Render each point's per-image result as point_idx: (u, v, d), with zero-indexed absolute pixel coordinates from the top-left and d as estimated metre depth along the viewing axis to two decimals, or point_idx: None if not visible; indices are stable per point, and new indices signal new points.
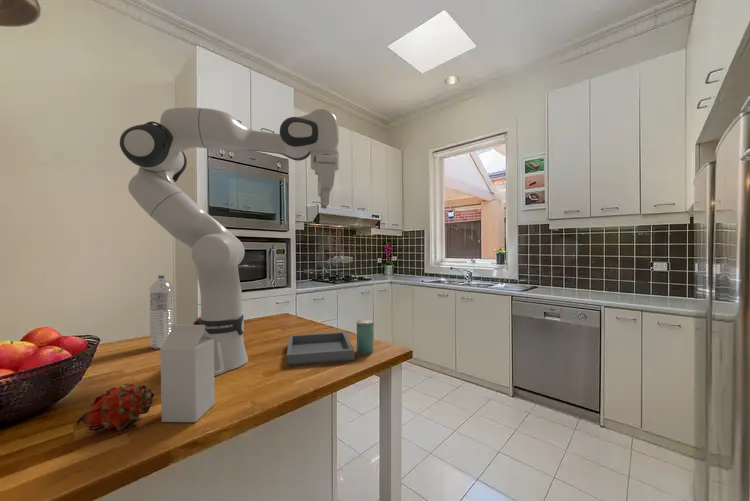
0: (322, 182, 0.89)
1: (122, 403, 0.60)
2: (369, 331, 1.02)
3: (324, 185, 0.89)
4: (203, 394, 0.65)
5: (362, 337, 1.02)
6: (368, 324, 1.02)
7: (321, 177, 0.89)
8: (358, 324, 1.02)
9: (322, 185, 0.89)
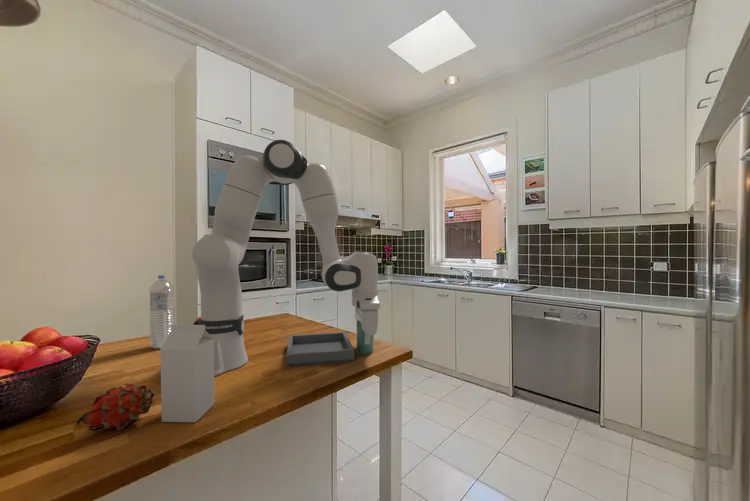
0: (366, 331, 0.94)
1: (122, 403, 0.60)
2: None
3: (368, 333, 0.94)
4: (203, 394, 0.65)
5: (362, 337, 1.02)
6: None
7: (366, 327, 0.94)
8: (358, 324, 1.02)
9: (366, 334, 0.94)
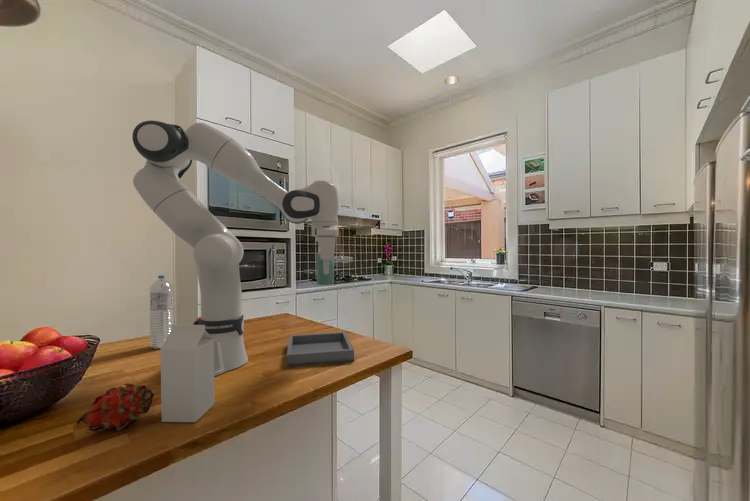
0: (323, 256, 0.93)
1: (122, 403, 0.60)
2: None
3: (324, 259, 0.93)
4: (203, 394, 0.65)
5: (321, 267, 1.00)
6: None
7: (322, 251, 0.92)
8: (318, 255, 1.01)
9: (323, 259, 0.93)
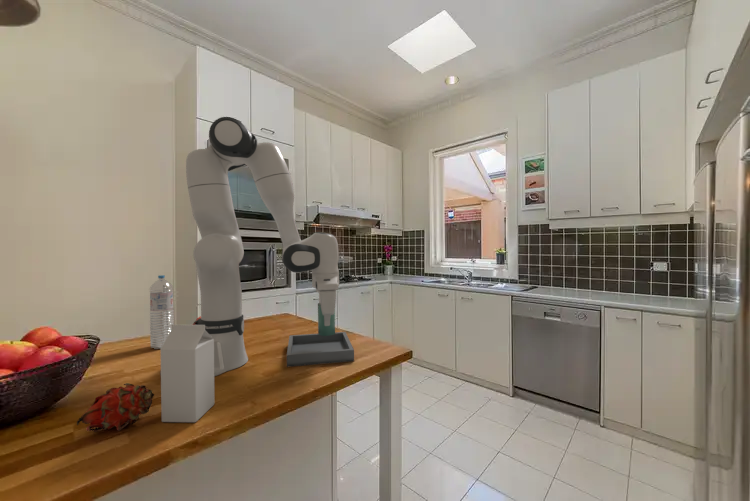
0: (323, 312, 0.93)
1: (122, 403, 0.60)
2: None
3: (325, 314, 0.93)
4: (203, 394, 0.65)
5: (322, 319, 1.00)
6: None
7: (322, 307, 0.93)
8: (319, 306, 1.01)
9: (323, 314, 0.93)
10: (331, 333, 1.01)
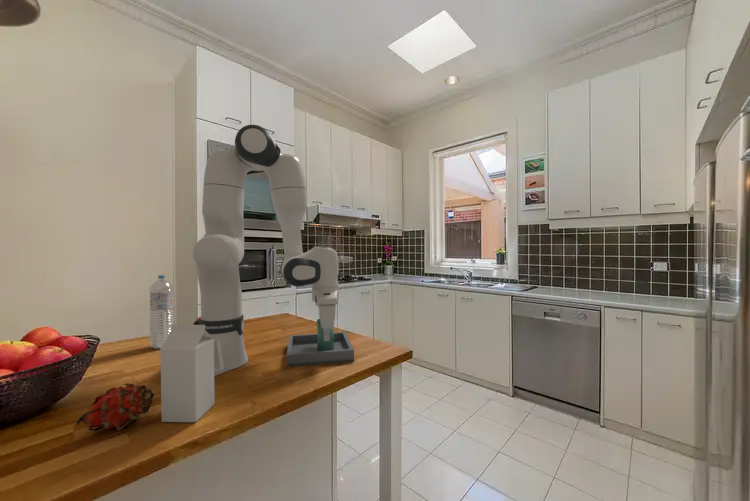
0: (323, 326, 0.93)
1: (122, 403, 0.60)
2: None
3: (325, 329, 0.93)
4: (203, 394, 0.65)
5: (321, 335, 1.00)
6: None
7: (322, 322, 0.93)
8: (318, 322, 1.01)
9: (323, 329, 0.93)
10: None
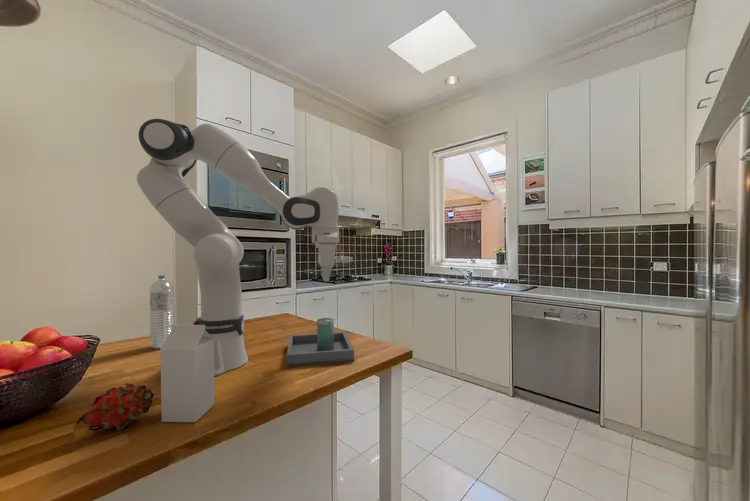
0: (323, 263, 0.93)
1: (122, 403, 0.60)
2: (328, 329, 1.01)
3: (324, 266, 0.93)
4: (203, 394, 0.65)
5: (321, 335, 1.00)
6: (328, 322, 1.01)
7: (322, 259, 0.93)
8: (318, 322, 1.01)
9: (323, 266, 0.93)
10: None
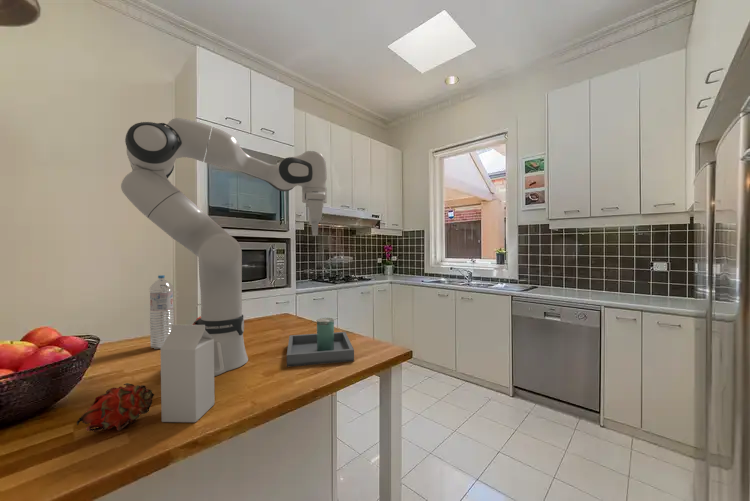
0: (311, 217, 1.03)
1: (122, 403, 0.60)
2: (328, 329, 1.01)
3: (313, 219, 1.04)
4: (203, 394, 0.65)
5: (321, 335, 1.00)
6: (328, 322, 1.00)
7: (310, 213, 1.03)
8: (318, 322, 1.01)
9: (311, 219, 1.04)
10: None
